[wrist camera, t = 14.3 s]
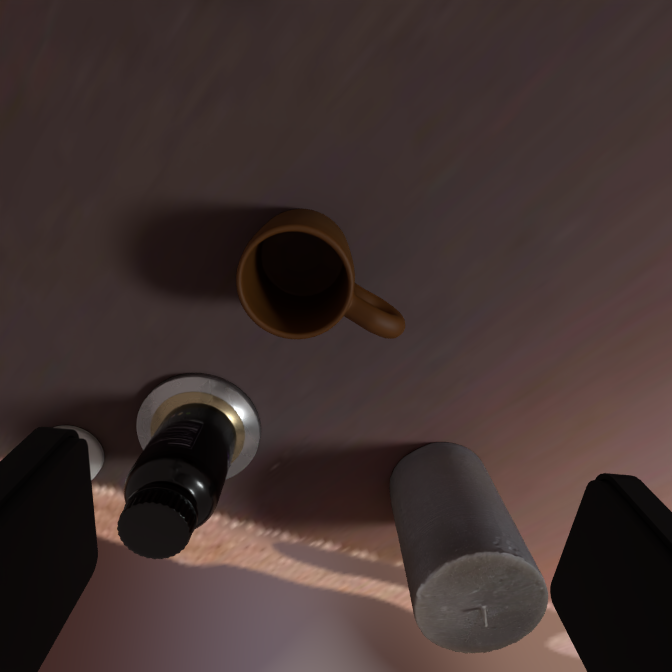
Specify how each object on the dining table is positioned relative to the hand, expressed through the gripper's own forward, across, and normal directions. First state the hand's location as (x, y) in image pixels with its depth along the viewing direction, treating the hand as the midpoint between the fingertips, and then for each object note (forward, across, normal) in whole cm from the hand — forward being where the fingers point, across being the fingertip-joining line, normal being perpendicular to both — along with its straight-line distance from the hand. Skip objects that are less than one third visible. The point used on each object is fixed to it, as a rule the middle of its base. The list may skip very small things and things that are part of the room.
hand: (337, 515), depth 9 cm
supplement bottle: (+29, +10, +18) cm, 36 cm away
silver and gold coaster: (+30, +10, +18) cm, 37 cm away
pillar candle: (+31, -13, +22) cm, 40 cm away
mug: (+31, 0, +2) cm, 31 cm away
